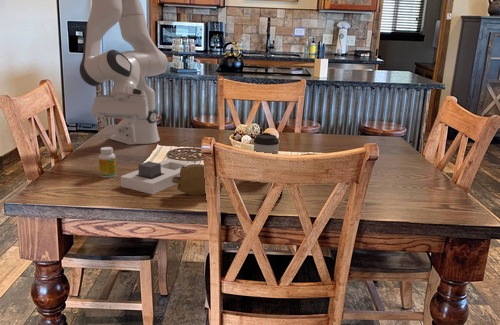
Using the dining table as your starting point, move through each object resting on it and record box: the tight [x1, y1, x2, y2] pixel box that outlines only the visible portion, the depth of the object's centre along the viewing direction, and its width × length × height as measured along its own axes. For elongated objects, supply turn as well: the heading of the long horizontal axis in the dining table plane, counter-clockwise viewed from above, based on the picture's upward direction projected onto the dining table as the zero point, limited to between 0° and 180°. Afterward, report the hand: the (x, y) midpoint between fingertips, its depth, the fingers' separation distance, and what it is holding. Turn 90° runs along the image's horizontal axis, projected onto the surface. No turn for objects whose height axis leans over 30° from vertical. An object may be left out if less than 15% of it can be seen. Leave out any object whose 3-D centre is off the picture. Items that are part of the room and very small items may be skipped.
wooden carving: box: [172, 163, 224, 197], centre depth 148 cm, size 16×5×10 cm, turn 98°
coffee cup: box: [253, 132, 280, 155], centre depth 167 cm, size 9×9×15 cm
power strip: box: [120, 158, 195, 195], centre depth 160 cm, size 13×25×7 cm, turn 151°
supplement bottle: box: [98, 146, 117, 179], centre depth 162 cm, size 5×5×10 cm
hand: (116, 126), depth 172 cm, fingers open, 8 cm apart
